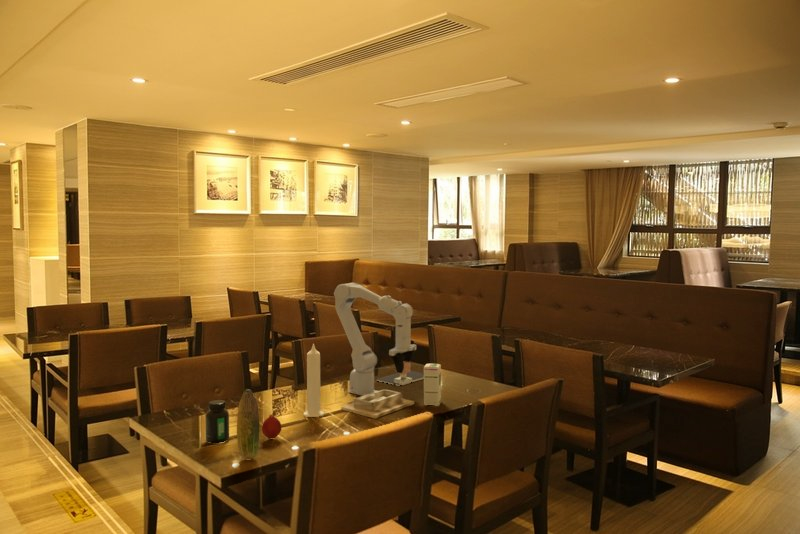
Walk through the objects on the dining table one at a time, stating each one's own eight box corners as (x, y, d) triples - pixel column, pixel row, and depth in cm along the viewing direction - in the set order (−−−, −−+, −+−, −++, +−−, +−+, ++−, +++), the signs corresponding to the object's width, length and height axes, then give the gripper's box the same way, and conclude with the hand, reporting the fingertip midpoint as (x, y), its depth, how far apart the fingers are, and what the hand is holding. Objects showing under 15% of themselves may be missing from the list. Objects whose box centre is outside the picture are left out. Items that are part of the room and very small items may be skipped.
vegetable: (232, 460, 166) (231, 390, 165) (246, 453, 172) (245, 384, 171) (250, 464, 164) (249, 392, 162) (264, 456, 169) (263, 387, 168)
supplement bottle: (226, 444, 179) (226, 405, 178) (203, 445, 178) (202, 405, 178) (231, 436, 186) (230, 398, 185) (208, 437, 185) (208, 399, 184)
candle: (327, 413, 210) (327, 342, 208) (318, 419, 203) (318, 346, 201) (309, 411, 212) (309, 341, 210) (299, 416, 205) (299, 344, 204)
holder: (375, 418, 204) (375, 406, 204) (341, 409, 214) (341, 398, 214) (414, 403, 221) (414, 393, 221) (381, 396, 231) (381, 386, 231)
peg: (393, 382, 228) (393, 361, 227) (401, 380, 232) (402, 359, 231) (404, 384, 225) (404, 363, 224) (412, 382, 229) (412, 361, 228)
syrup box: (439, 406, 218) (439, 367, 217) (423, 405, 219) (423, 366, 218) (441, 402, 224) (441, 363, 223) (425, 401, 225) (425, 362, 224)
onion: (263, 436, 186) (263, 411, 185) (282, 436, 186) (282, 410, 186) (260, 443, 180) (260, 417, 179) (280, 442, 180) (279, 416, 180)
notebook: (408, 373, 270) (375, 382, 254) (408, 370, 270) (375, 378, 254) (430, 378, 262) (398, 387, 246) (430, 374, 262) (398, 384, 246)
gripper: (399, 339, 219) (399, 376, 220) (422, 334, 230) (422, 369, 231) (384, 337, 223) (384, 373, 224) (408, 332, 235) (408, 366, 236)
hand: (402, 371), depth 228 cm, fingers closed on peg, 4 cm apart
